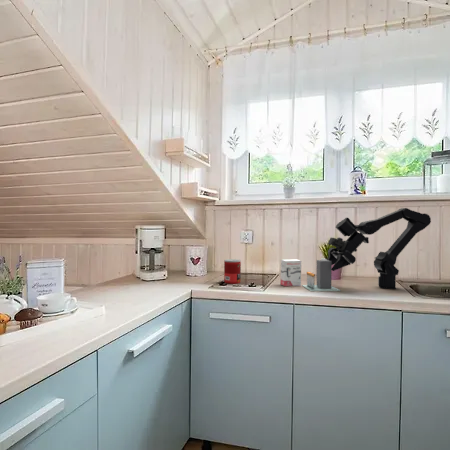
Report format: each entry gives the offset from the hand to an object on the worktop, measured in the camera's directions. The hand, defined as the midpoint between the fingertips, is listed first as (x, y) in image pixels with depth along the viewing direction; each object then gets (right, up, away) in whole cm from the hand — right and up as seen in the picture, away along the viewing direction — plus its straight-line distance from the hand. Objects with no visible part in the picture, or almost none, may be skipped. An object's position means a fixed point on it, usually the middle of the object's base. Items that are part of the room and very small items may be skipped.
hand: (328, 268), depth 157 cm
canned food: (-42, -9, +15) cm, 46 cm away
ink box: (-15, -9, +8) cm, 19 cm away
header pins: (-8, -8, 0) cm, 11 cm away
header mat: (-3, -9, 0) cm, 9 cm away
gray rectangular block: (-2, -8, 0) cm, 8 cm away
